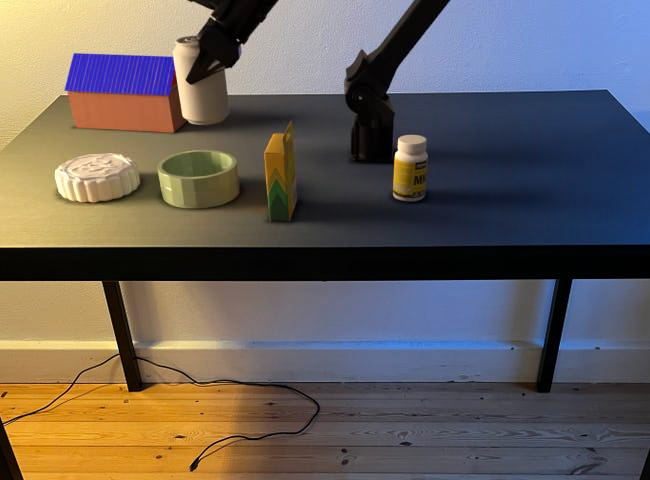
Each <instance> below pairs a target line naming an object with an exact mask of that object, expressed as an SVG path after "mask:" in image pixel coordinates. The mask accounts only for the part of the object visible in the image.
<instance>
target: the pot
mask: <svg viewBox="0 0 650 480" xmlns="http://www.w3.org/2000/svg"><path fill="white" fill-rule="evenodd" d="M157 175H158V180H159V186H160V191H161V196H162V200H164V202H166V203H167V204H169V205H170V206H173V207H176V208H180V209H181V208H182V209H190V210H191V209H192V210H193V209H195V210H197V209H208V208H214V207H218V206H221V205H224V204H226V203H229V202H232V201H233V200H234V199H236V198H237V197H238V195H239V194H240V187H241V186H240V179H239V178H240V177H239V167H238V161H237V158H236V156H233V155H232V154H230V153H228V152H225V151H221V150H214V149H195V150H194V149H193V150H187V151H181V152H178V153H174V154H172V155H168V156H166V157H165V158H163V159H161V160H160V161H159V163H158V164H157Z"/></svg>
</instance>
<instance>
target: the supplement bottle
mask: <svg viewBox="0 0 650 480" xmlns="http://www.w3.org/2000/svg"><path fill="white" fill-rule="evenodd" d="M427 143H428V141H427V138H426V137H425V136H423V135H418V134H405V135H402V136H400V137H398V140H397V151H396V152H395V154H394V161H393V163H394V165H393V166H394V167H393V184H392V195H393V197H394V198H395V199H396V200H399V201H402V202H409V203H411V202H417V201H418V202H419V201H420V200H423V199H424V198H425V196H426V186H427V175H428V174H427V173H428V161H429V155H428V152H427V151H426V150H427V146H428V145H427Z"/></svg>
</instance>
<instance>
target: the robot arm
mask: <svg viewBox="0 0 650 480" xmlns="http://www.w3.org/2000/svg"><path fill="white" fill-rule="evenodd" d="M187 1H188V2H189V3H195V4H197V5H199V6H202V7H204V8H205V9H208V10H211V11H212V12H211V13H210V16H209V17H208V19H207V20H206V22H205V24H204V25H203V26H202V27H201V29H200V30H199V31H198V33H197V34H196V35H197V41H198V45H199V53H198V55H197V57H196V59H195V61H194V63H193V65H192V67H191V69H190V71H189V73H188V75H187V77H186V82H187V83H189V84H190V85H192V84H195V83H197V82H199V81H201V80H203V79H205V78H207V77H209V76H211V75H213V74H216V73H218V72H220V71H222V70H224V69H225V70H226V69H227V70H228V69H232V68H233V67H234V66H235V65H236V64H237V62H238V61H239V60H240V59H241V56H242V53H243V52H242V45H243V46H245V45H246V43H247V42H248V41H249V39H250V37H251V36H252V34H254V32H255V30H256V29H257V28H258V27H259V26H260V24H263V23H264V21H265V20H266V19H267V17H268V15H269V14H270V13H271V11H272V10H273V8H274V7H275V6H276V5H277V4H278V2H279V1H280V0H187ZM450 2H451V0H413V1H412V2H411V3H410V5H409V6H408V8H407V9H406V10H405V11H404V13H403V14H402V16H401V17H400V18H399V19H398V21H397V22H396V23H395V24H394V25H393V27H392V29H391V30H390V32H388V34H387V35H386V36H385V38H384V39H383V41H382V42H381V43H380V45H378V47H377V48H375V49H374V50H372V51H371V52H370V53H369V54H367V52H366V51H365V50H364V49H363V48H361V49H360V50H359V52H358V54H357V56H356V58H355V59H354V61H353V62H352V63H351V65H348V67H346V68H345V78H344V81H343V90H344V92H343V93H344V100H345V104H346V106H347V108H349V110H350V111H351V112H352V113H354V114H355V117H354V120H353V121H354V123H353V124H352V125H351V128H350V154H351V155H352V162H357V163H358V162H360V163H394V161H393V160H394V124H395V117H396V112H395V108H394V105H393V102H392V98H391V97H390V96H389V95H388V93H387V92H388V91H389V89H390V86H391V84H392V82H393V80H394V77H395V75H396V73H397V70H398V68H399V67H400V65H401V64H402V63H403V62H404V61H405V59H406V58H407V57H408V55H409V54H410V53H411V51H412V50H413V49H414V48H415V46H416V45H417V44H418V43H419V41H420V40H421V39H422V37H423V36H424V35H425V33H426V32H428V30H429V28H430V27H431V26H432V25H433V23H434V22H435V21H436V20H437V18H438V17H439V16H440V15H441V13H442V12H443V11H444V9H445V8H446V7H447V6H448V5H449V3H450Z"/></svg>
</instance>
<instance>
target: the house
mask: <svg viewBox="0 0 650 480" xmlns="http://www.w3.org/2000/svg"><path fill="white" fill-rule="evenodd" d="M64 92H67V97H68V101H69V105H70V109H71V113H72V118H73V121H74V127H75V128H80V129H100V130H101V129H102V130H117V131H118V130H120V131H137V132H155V133H157V132H158V133H175V132H177V130H178V129H180V127H182V126H183V125H184V124H185V123H186V122H187V121H188V120H187V119H185V118H184V117H183V115H182V109H181V103H180V96H179V90H178V83H177V77H176V70H175V64H174V57H173V56H168V55H167V56H166V55H165V56H164V55H163V56H162V55H139V54H138V55H136V54H110V53H79V52H73V55H72V58H71V62H70V66H69V70H68V75H67V79H66V83H65V86H64Z"/></svg>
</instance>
